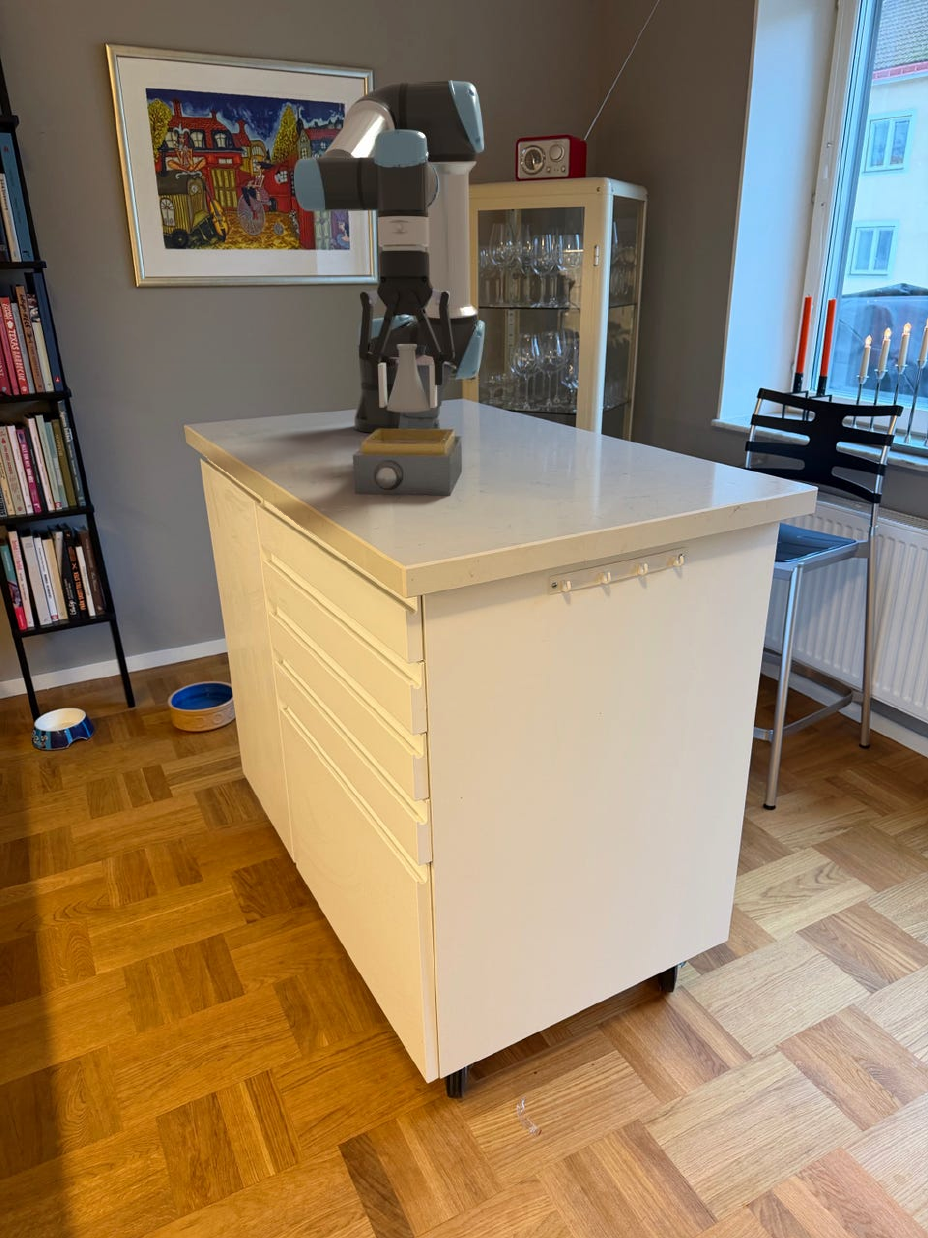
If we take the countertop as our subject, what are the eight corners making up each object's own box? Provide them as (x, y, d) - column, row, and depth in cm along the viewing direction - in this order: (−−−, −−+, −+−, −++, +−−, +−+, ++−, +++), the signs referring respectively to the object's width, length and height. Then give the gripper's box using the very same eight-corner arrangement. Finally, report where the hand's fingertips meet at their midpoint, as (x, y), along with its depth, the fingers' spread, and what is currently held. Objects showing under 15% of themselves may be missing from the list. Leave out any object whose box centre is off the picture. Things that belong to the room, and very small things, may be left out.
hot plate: (376, 469, 150) (374, 426, 147) (461, 471, 149) (461, 427, 146) (351, 497, 132) (348, 448, 129) (448, 499, 131) (447, 449, 128)
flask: (379, 408, 139) (377, 343, 135) (422, 406, 141) (420, 342, 138) (394, 415, 133) (392, 347, 129) (438, 412, 135) (437, 345, 132)
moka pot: (451, 465, 153) (450, 347, 146) (368, 462, 156) (363, 346, 149) (462, 454, 162) (461, 343, 155) (383, 451, 165) (379, 342, 157)
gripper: (331, 249, 126) (340, 409, 134) (469, 248, 124) (469, 410, 132) (343, 250, 133) (351, 402, 141) (474, 249, 131) (474, 403, 139)
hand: (408, 406), depth 137 cm, fingers closed on flask, 7 cm apart
